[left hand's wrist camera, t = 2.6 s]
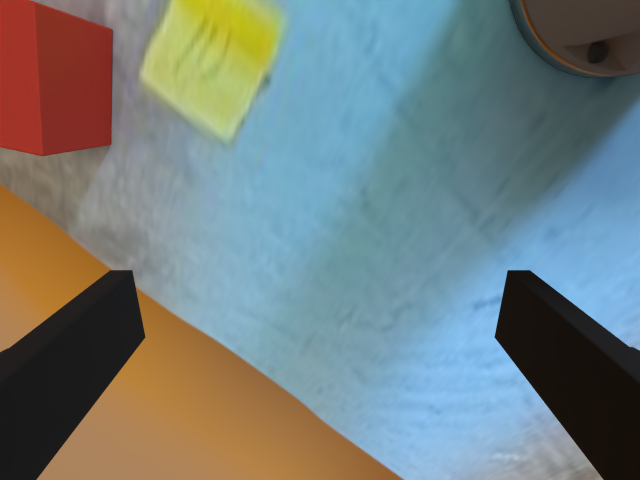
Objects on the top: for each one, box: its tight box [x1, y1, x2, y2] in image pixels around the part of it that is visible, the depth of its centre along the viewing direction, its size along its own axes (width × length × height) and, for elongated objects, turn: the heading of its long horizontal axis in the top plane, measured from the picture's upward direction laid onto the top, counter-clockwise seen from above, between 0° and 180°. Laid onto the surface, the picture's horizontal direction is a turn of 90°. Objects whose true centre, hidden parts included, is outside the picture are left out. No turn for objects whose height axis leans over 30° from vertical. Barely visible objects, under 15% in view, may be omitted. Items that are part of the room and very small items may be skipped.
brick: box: [0, 0, 112, 156], centre depth 24 cm, size 5×8×7 cm, turn 168°
